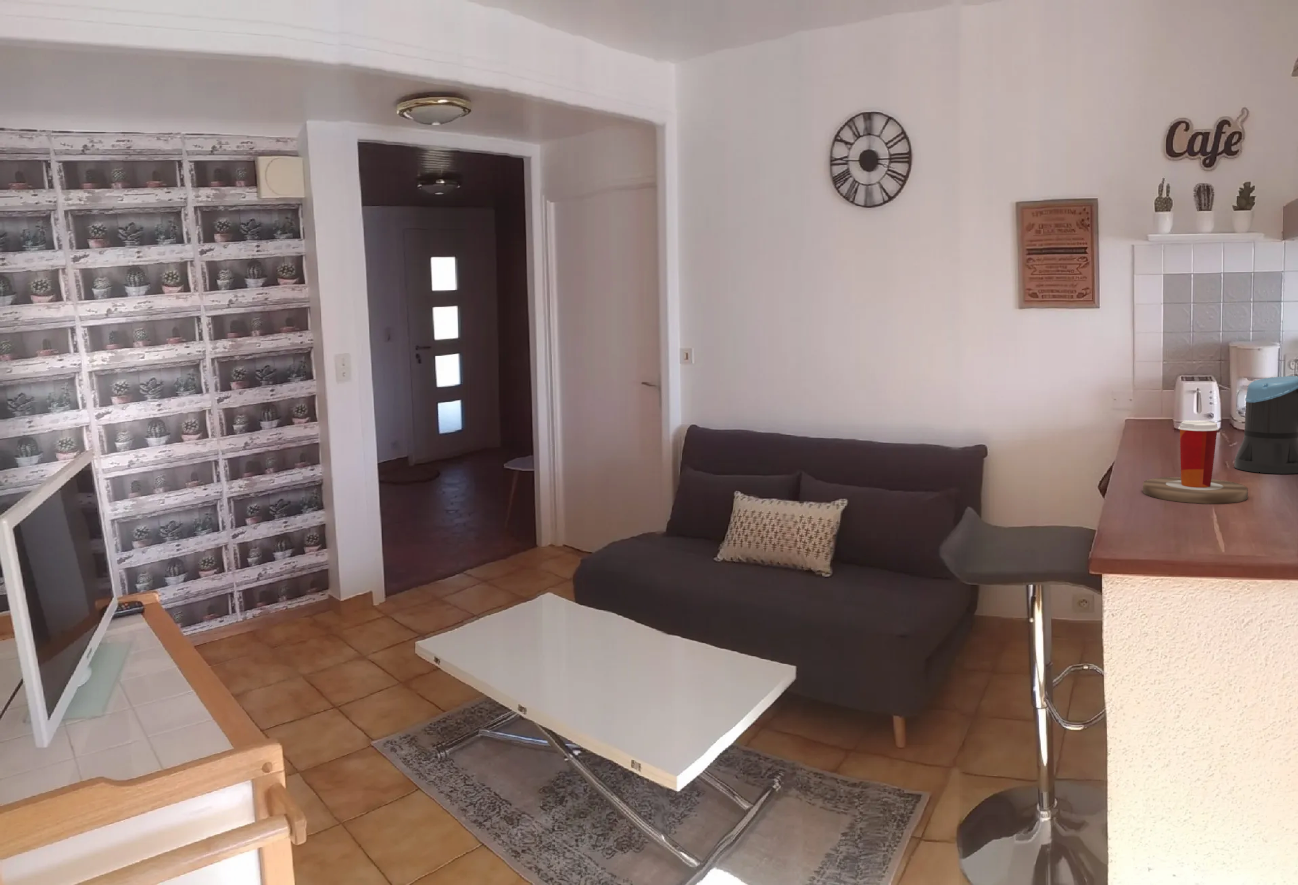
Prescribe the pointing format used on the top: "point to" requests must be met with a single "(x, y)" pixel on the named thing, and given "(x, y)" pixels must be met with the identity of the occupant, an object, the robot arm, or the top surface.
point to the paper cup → (1197, 452)
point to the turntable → (1195, 491)
